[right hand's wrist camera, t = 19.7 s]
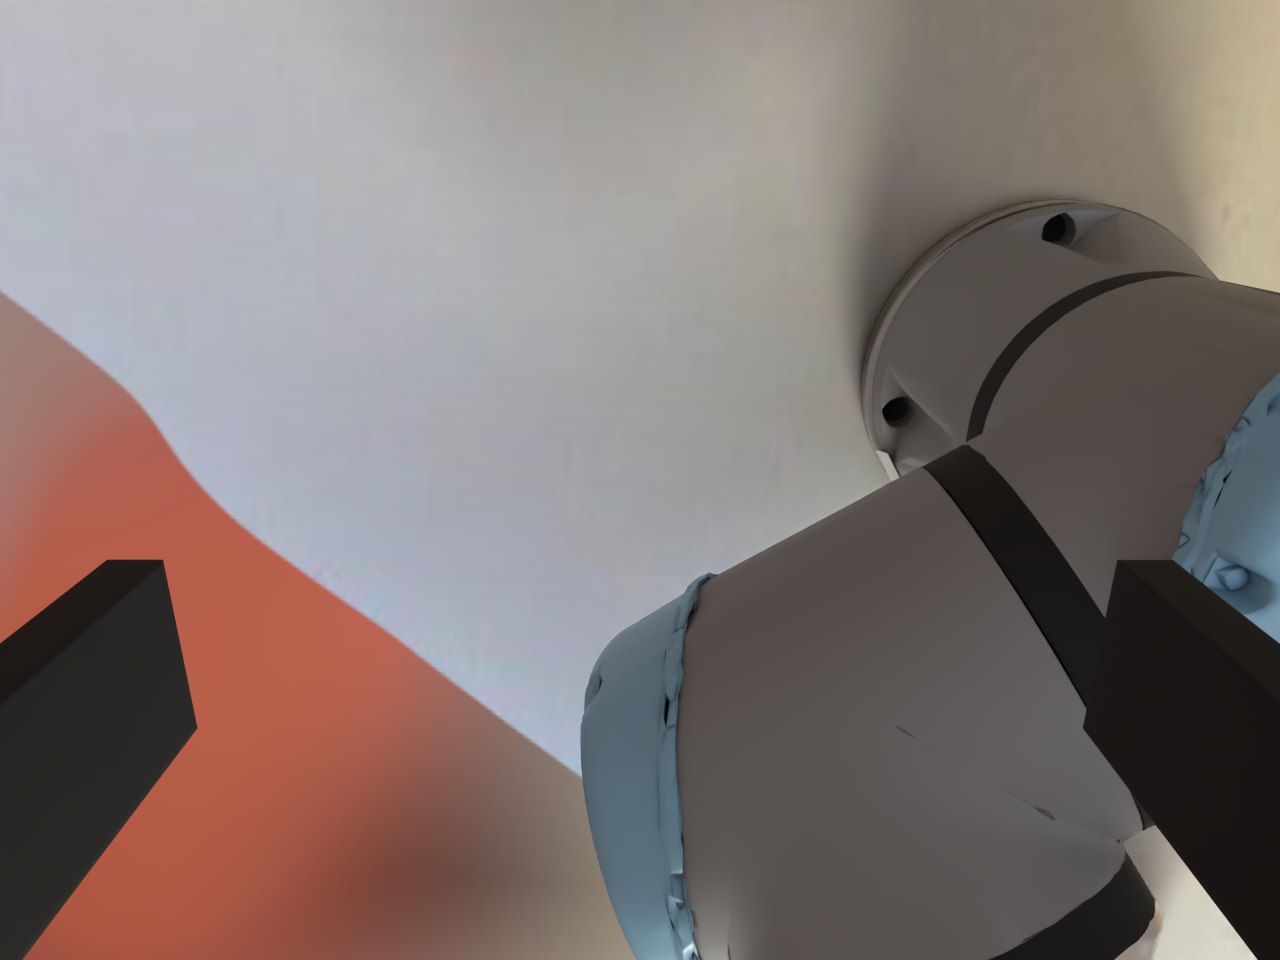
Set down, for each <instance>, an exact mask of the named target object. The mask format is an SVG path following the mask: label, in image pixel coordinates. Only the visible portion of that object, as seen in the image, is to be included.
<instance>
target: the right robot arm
mask: <svg viewBox="0 0 1280 960" xmlns="http://www.w3.org/2000/svg"><path fill="white" fill-rule="evenodd" d="M862 408H863V416H864V421H865V425H866V430H867V433H868V436H869V439H870V442H871V445H872V447H873V450H874V452H875V454H876V456H877V458H878V460H879V462H880V463H881V465H882V467H883V468H884V470H885V472H886V473H887V474H888V476H889V478H890V480H891V483H889V484H887V485H885V486H883V487H882V488H880V489H878V490H876V491H874V492H873V493H871V494H869V495H867V496H865V497H864V498H862V499H860V500H858V501H856V502H854V503H853V504H851V505H849V506H847V507H845V508H843V509H841V510H839V511H837V512H836V513H834V514H832V515H830V516H828V517H826V518H824V519H822V520H821V521H819V522H817V523H815V524H813V525H811V526H809V527H807V528H805V529H804V530H802V531H800V532H798V533H796V534H794V535H792V536H790V537H789V538H787V539H785V540H783V541H781V542H779V543H777V544H775V545H773V546H772V547H770V548H768V549H766V550H764V551H762V552H760V553H758V554H757V555H755V556H753V557H751V558H749V559H747V560H745V561H743V562H741V563H740V564H738V565H736V566H734V567H732V568H730V569H728V570H726V571H724V572H723V573H721V574H719V575H715V574H712V573H708V574H706V575H703V576H701V577H699V578H697V579H696V580H694V581H693V582H692V583H691V584H690V585H689V586H688V588H687V590H686V592H685V593H684V594H683V595H681V596H679V597H678V598H676V599H674V600H673V601H671V602H670V603H668V604H666V605H665V606H663V607H661V608H660V609H658V610H656V611H655V612H653V613H652V614H650V615H648V616H647V617H645V618H643V619H642V620H640V621H638V622H637V623H635V624H633V625H632V626H630V627H628V628H627V629H625V630H623V631H622V632H621V633H620V634H618V635H617V636H616V637H615V638H614V639H613V640H612V641H611V642H610V643H609V644H608V645H607V647H606V648H605V649H604V651H603V652H602V653H601V655H600V656H599V658H598V660H597V662H596V663H595V666H594V668H593V670H592V673H591V675H590V679H589V683H588V687H587V689H586V693H585V707H584V715H583V718H582V723H581V765H582V777H583V786H584V794H585V801H586V806H587V813H588V818H589V824H590V828H591V833H592V838H593V842H594V846H595V850H596V853H597V857H598V861H599V865H600V869H601V872H602V875H603V878H604V882H605V885H606V888H607V891H608V894H609V897H610V900H611V903H612V906H613V908H614V911H615V914H616V916H617V919H618V921H619V924H620V926H621V928H622V931H623V933H624V935H625V937H626V939H627V941H628V943H629V945H630V947H631V949H632V951H633V953H634V955H635V957H636V958H637V960H1153V958H1154V955H1155V951H1156V947H1157V944H1158V940H1159V937H1160V933H1161V929H1162V922H1163V915H1162V912H1161V910H1160V908H1159V906H1158V904H1157V902H1156V900H1155V898H1154V896H1153V895H1152V894H1151V892H1150V890H1149V889H1148V887H1147V885H1146V884H1145V882H1144V880H1143V879H1142V877H1141V875H1140V874H1139V872H1138V870H1137V869H1136V867H1135V865H1134V864H1133V862H1132V860H1131V859H1130V857H1129V855H1128V854H1127V852H1126V850H1125V848H1124V844H1123V841H1125V840H1127V839H1129V838H1130V837H1132V836H1134V835H1136V834H1137V833H1139V832H1141V831H1142V830H1146V829H1147V828H1149V827H1151V826H1154V825H1156V826H1157V827H1158V829H1159V830H1160V831H1161V833H1162V834H1163V835H1164V837H1165V838H1166V839H1167V840H1168V842H1169V843H1170V844H1171V846H1172V847H1173V848H1174V850H1175V851H1176V852H1177V854H1178V855H1179V856H1180V858H1181V859H1182V860H1183V862H1184V863H1185V864H1186V866H1187V867H1188V868H1189V870H1190V871H1191V872H1192V874H1193V875H1194V876H1195V878H1196V879H1197V880H1198V881H1199V883H1200V884H1201V885H1202V887H1203V888H1204V889H1205V891H1206V892H1207V893H1208V895H1209V896H1210V897H1211V899H1212V900H1213V901H1214V903H1215V904H1216V905H1217V907H1218V908H1219V909H1220V911H1221V912H1222V913H1223V915H1224V916H1225V917H1226V919H1227V920H1228V921H1229V922H1230V924H1231V925H1232V926H1233V928H1234V929H1235V930H1236V932H1237V933H1238V934H1239V936H1240V937H1241V938H1242V940H1243V941H1244V942H1245V944H1246V945H1247V946H1248V948H1249V949H1250V950H1251V952H1252V953H1253V954H1254V956H1255V957H1256V958H1257V960H1280V293H1278V292H1273V291H1268V290H1263V289H1258V288H1254V287H1249V286H1244V285H1239V284H1234V283H1230V282H1225V281H1220V280H1219V279H1218V278H1217V277H1216V276H1215V275H1214V273H1213V272H1212V271H1211V270H1210V269H1209V268H1208V267H1207V266H1206V264H1205V263H1204V262H1203V261H1202V260H1201V259H1200V258H1199V257H1198V255H1197V254H1196V253H1195V252H1194V251H1193V250H1192V249H1191V248H1190V247H1189V246H1188V245H1187V244H1185V243H1184V242H1183V241H1182V240H1181V239H1179V238H1178V237H1177V236H1176V235H1174V234H1173V233H1172V232H1171V231H1169V230H1168V229H1166V228H1165V227H1163V226H1161V225H1160V224H1158V223H1157V222H1155V221H1153V220H1151V219H1149V218H1147V217H1145V216H1143V215H1141V214H1138V213H1135V212H1132V211H1129V210H1126V209H1124V208H1119V207H1115V206H1111V205H1106V204H1099V203H1091V202H1083V201H1074V200H1045V201H1034V202H1029V203H1024V204H1019V205H1014V206H1011V207H1008V208H1004V209H1001V210H998V211H995V212H993V213H990V214H988V215H985V216H983V217H980V218H978V219H976V220H974V221H972V222H970V223H968V224H967V225H965V226H963V227H961V228H960V229H958V230H957V231H955V232H953V233H952V234H950V235H949V236H947V237H946V238H945V239H943V240H942V241H941V242H939V243H938V244H937V245H935V246H934V247H933V248H932V249H931V250H929V251H928V252H927V253H926V254H925V255H924V256H923V257H922V258H921V259H920V260H919V261H918V262H917V263H916V264H915V265H914V266H913V267H912V268H911V269H910V270H909V272H908V273H907V274H906V275H905V276H904V278H903V279H902V280H901V282H900V283H899V284H898V285H897V287H896V288H895V290H894V291H893V293H892V294H891V296H890V298H889V299H888V301H887V302H886V304H885V306H884V308H883V310H882V312H881V314H880V316H879V318H878V320H877V322H876V325H875V327H874V330H873V332H872V334H871V338H870V341H869V344H868V348H867V351H866V356H865V361H864V366H863V375H862ZM196 729H197V724H196V719H195V714H194V709H193V704H192V699H191V695H190V690H189V685H188V680H187V675H186V670H185V665H184V660H183V655H182V651H181V646H180V641H179V636H178V631H177V626H176V621H175V616H174V612H173V607H172V602H171V597H170V592H169V587H168V582H167V577H166V573H165V568H164V563H163V560H106V561H105V562H104V563H103V564H101V565H100V566H99V567H97V568H96V569H95V570H94V571H92V572H91V573H90V574H88V575H87V576H86V577H85V578H83V579H82V580H81V581H80V582H78V583H77V584H76V585H74V586H73V587H72V588H71V589H69V590H68V591H67V592H65V593H64V594H63V595H62V596H60V597H59V598H58V599H57V600H55V601H54V602H53V603H51V604H50V605H49V606H48V607H46V608H45V609H44V610H42V611H41V612H40V613H39V614H37V615H36V616H35V617H34V618H32V619H31V620H30V621H28V622H27V623H26V624H25V625H23V626H22V627H21V628H20V629H18V630H17V631H16V632H14V633H13V634H12V635H11V636H9V637H8V638H7V639H5V640H4V641H3V642H2V643H0V960H22V959H23V958H24V957H25V955H26V954H27V953H28V952H29V950H30V949H31V948H32V946H33V945H34V944H35V942H36V941H37V940H38V938H39V937H40V936H41V934H42V933H43V932H44V930H45V929H46V928H47V926H48V925H49V924H50V922H51V921H52V920H53V919H54V917H55V916H56V914H57V913H58V912H59V911H60V909H61V908H62V907H63V905H64V904H65V903H66V901H67V900H68V899H69V897H70V896H71V895H72V893H73V892H74V891H75V889H76V888H77V887H78V885H79V884H80V883H81V881H82V880H83V879H84V878H85V876H86V875H87V873H88V872H89V871H90V870H91V868H92V867H93V866H94V864H95V863H96V862H97V860H98V859H99V858H100V856H101V855H102V854H103V852H104V851H105V850H106V848H107V847H108V846H109V844H110V843H111V842H112V840H113V839H114V838H115V836H116V835H117V834H118V832H119V831H120V830H121V829H122V827H123V826H124V825H125V823H126V822H127V821H128V819H129V818H130V817H131V815H132V814H133V813H134V811H135V810H136V809H137V807H138V806H139V805H140V803H141V802H142V801H143V799H144V798H145V797H146V796H147V794H148V793H149V792H150V790H151V789H152V787H153V786H154V785H155V784H156V782H157V781H158V780H159V778H160V777H161V776H162V774H163V773H164V772H165V770H166V769H167V768H168V766H169V765H170V764H171V762H172V761H173V760H174V758H175V757H176V756H177V754H178V753H179V752H180V750H181V749H182V748H183V746H184V745H185V744H186V743H187V741H188V740H189V739H190V737H191V736H192V735H193V733H194V732H195V731H196Z"/></svg>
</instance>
